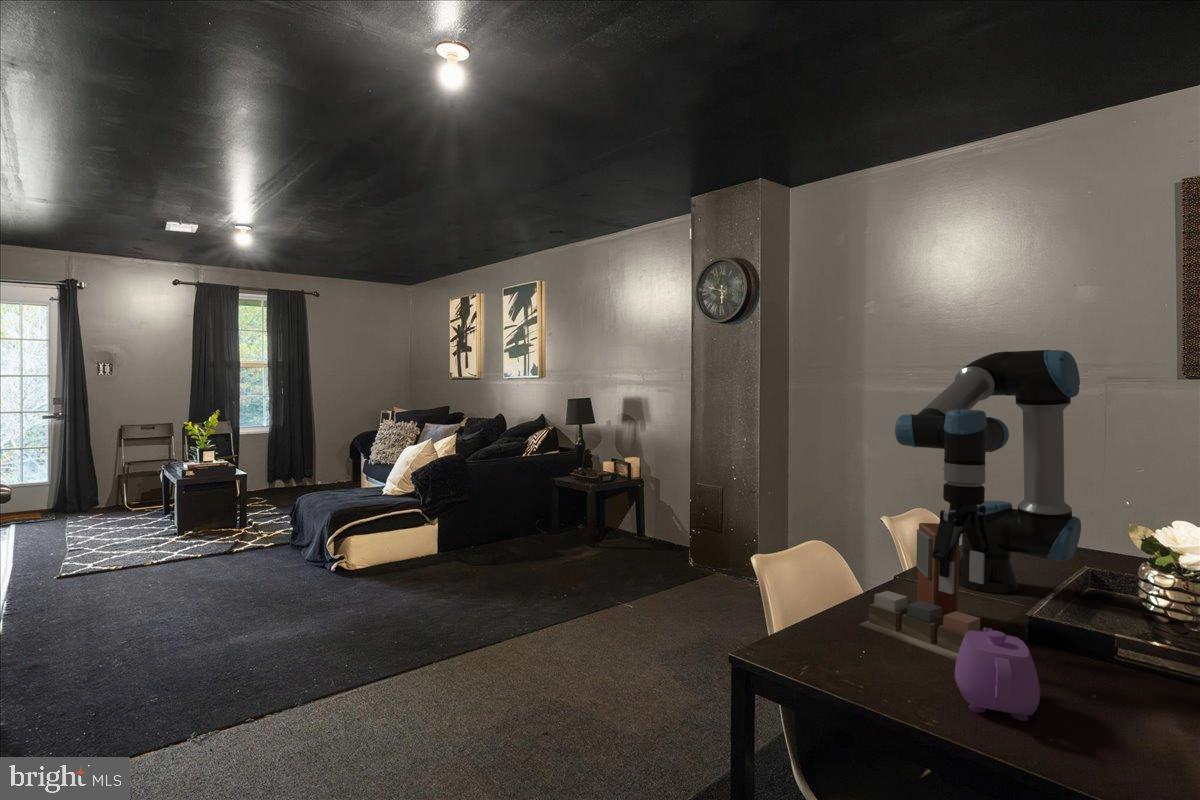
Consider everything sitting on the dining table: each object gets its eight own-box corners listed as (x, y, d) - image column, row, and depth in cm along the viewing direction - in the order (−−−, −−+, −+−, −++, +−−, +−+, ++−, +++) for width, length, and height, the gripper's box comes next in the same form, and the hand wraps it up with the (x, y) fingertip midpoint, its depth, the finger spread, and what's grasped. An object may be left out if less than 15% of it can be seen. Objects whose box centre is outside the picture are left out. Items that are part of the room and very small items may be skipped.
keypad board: (889, 615, 155) (889, 596, 155) (995, 650, 135) (995, 628, 135) (859, 625, 148) (859, 606, 148) (965, 663, 128) (966, 641, 128)
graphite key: (919, 617, 145) (920, 600, 145) (941, 624, 141) (942, 606, 141) (907, 622, 142) (907, 604, 142) (929, 629, 138) (929, 611, 138)
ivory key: (886, 607, 152) (887, 590, 151) (907, 613, 147) (907, 596, 147) (874, 611, 149) (874, 594, 149) (894, 618, 145) (894, 600, 144)
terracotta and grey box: (941, 607, 160) (963, 630, 145) (911, 605, 161) (929, 628, 147) (943, 522, 159) (965, 536, 145) (913, 521, 161) (931, 535, 146)
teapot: (1050, 741, 101) (1052, 661, 100) (960, 723, 106) (961, 647, 105) (1025, 686, 119) (1027, 618, 119) (949, 673, 124) (951, 608, 124)
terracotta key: (955, 629, 138) (955, 611, 138) (979, 637, 134) (980, 618, 134) (943, 634, 135) (943, 615, 135) (967, 642, 131) (967, 623, 131)
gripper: (974, 476, 144) (972, 573, 144) (914, 485, 130) (912, 592, 131) (1010, 481, 137) (1008, 582, 138) (951, 491, 124) (949, 602, 125)
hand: (961, 587), depth 135 cm, fingers open, 11 cm apart
